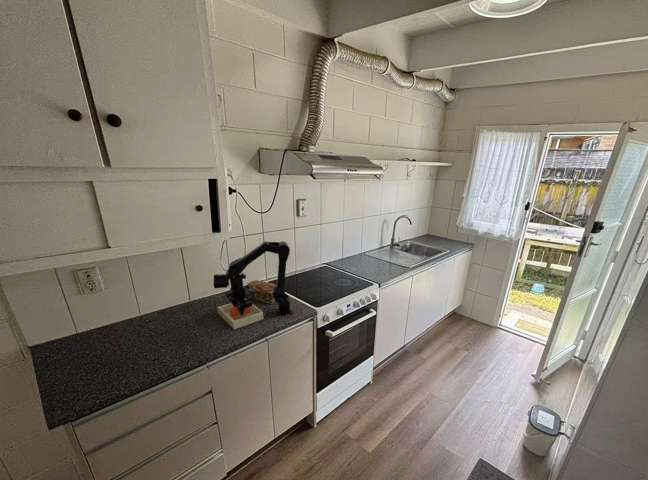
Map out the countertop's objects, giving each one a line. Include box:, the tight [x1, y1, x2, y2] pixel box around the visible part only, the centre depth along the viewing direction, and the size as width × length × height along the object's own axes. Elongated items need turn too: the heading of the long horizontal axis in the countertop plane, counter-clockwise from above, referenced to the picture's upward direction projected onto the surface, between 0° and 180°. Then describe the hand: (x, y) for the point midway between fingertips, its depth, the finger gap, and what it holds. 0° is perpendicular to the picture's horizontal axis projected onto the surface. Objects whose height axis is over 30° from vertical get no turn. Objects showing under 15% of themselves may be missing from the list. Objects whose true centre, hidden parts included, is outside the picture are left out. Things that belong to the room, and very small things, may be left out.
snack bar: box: [230, 307, 250, 318], centre depth 155 cm, size 4×9×4 cm, turn 134°
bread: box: [246, 280, 277, 305], centre depth 175 cm, size 19×11×10 cm, turn 68°
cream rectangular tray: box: [217, 302, 264, 330], centre depth 155 cm, size 20×16×5 cm
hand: (240, 313), depth 155 cm, fingers closed on snack bar, 4 cm apart
